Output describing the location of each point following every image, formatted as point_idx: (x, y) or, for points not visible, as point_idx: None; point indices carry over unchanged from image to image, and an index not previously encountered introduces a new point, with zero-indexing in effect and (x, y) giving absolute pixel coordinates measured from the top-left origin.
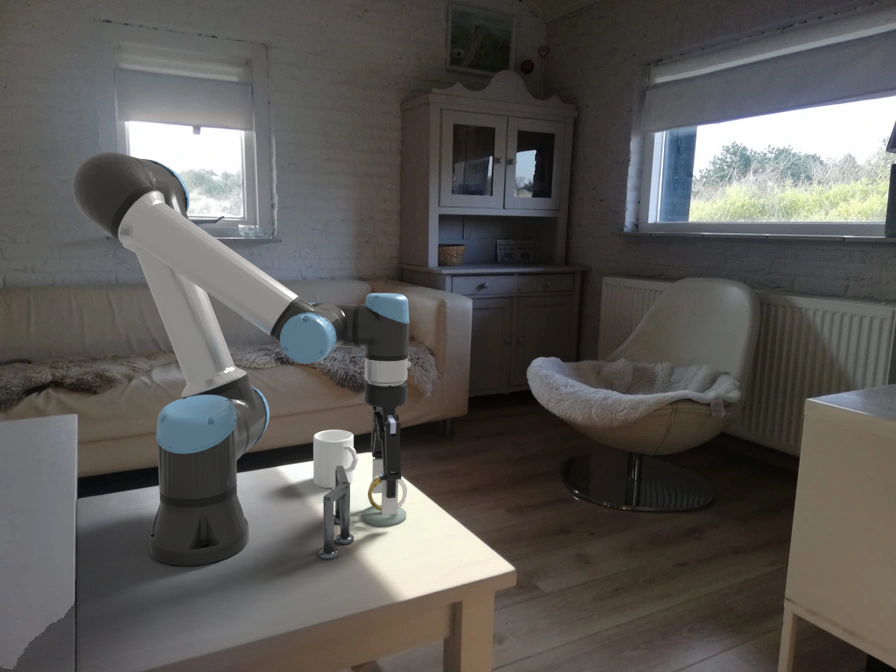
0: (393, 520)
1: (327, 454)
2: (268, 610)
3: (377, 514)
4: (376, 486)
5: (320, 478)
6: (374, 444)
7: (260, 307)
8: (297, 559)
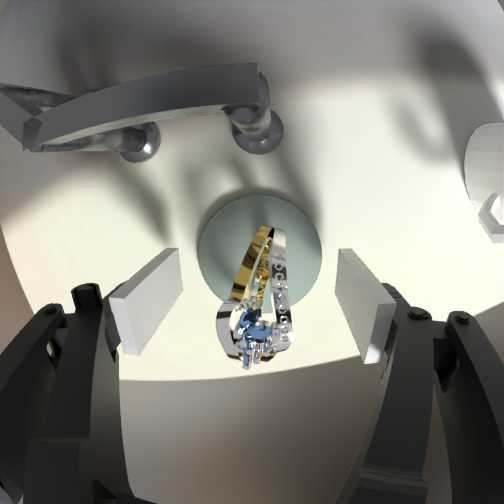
0: (210, 273)
1: None
2: (9, 69)
3: None
4: (343, 268)
5: (487, 130)
6: (404, 365)
7: None
8: (93, 58)
